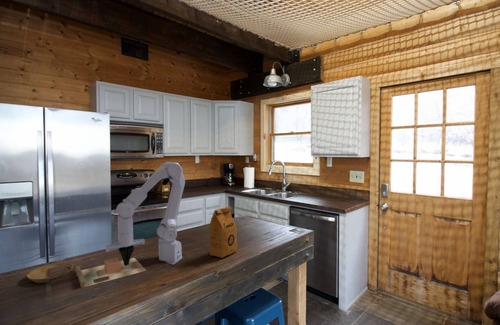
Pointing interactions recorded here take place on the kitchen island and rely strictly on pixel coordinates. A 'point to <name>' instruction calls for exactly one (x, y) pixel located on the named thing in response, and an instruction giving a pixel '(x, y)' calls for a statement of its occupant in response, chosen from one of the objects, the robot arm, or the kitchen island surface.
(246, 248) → the kitchen island surface
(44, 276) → the plant saucer
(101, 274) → the box
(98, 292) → the kitchen island surface
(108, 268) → the rust block
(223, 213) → the coffee package
